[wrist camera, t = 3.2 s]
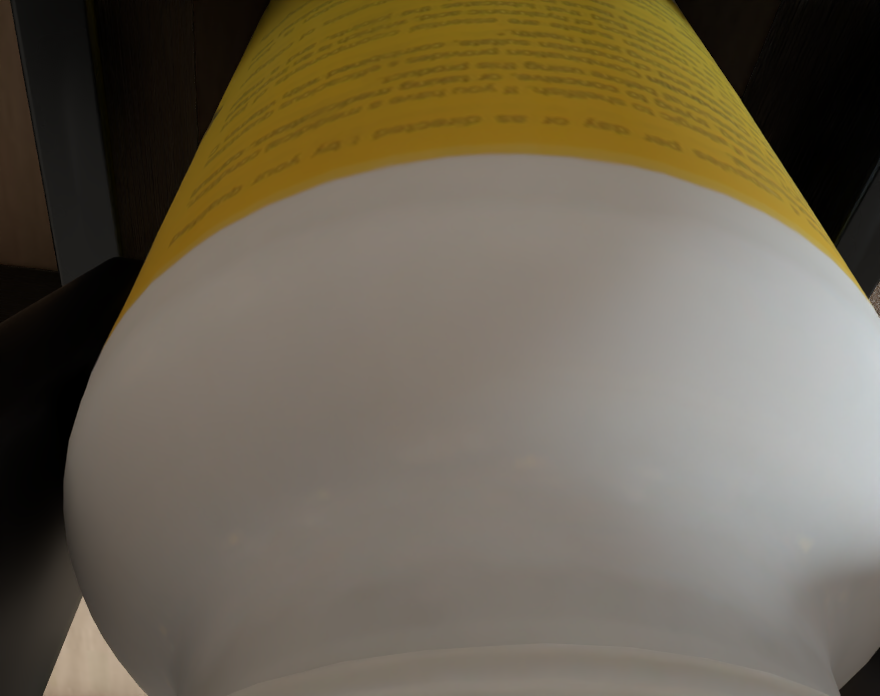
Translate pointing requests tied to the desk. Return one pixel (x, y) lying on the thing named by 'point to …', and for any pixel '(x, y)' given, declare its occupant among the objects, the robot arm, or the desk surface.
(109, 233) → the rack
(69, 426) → the robot arm
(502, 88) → the pill bottle
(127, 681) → the desk surface
